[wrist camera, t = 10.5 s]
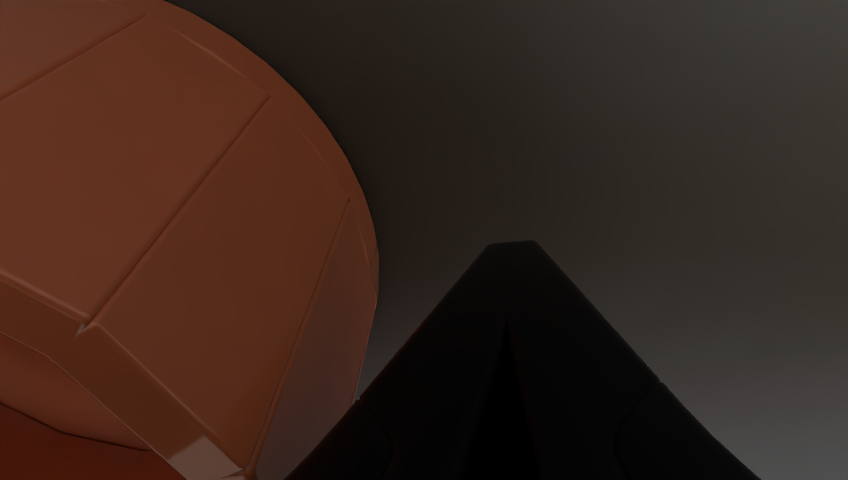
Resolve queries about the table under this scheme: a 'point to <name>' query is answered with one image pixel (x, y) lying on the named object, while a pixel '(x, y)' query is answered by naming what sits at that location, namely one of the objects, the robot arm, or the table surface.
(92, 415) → the cup
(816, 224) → the table surface
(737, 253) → the table surface
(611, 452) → the robot arm
